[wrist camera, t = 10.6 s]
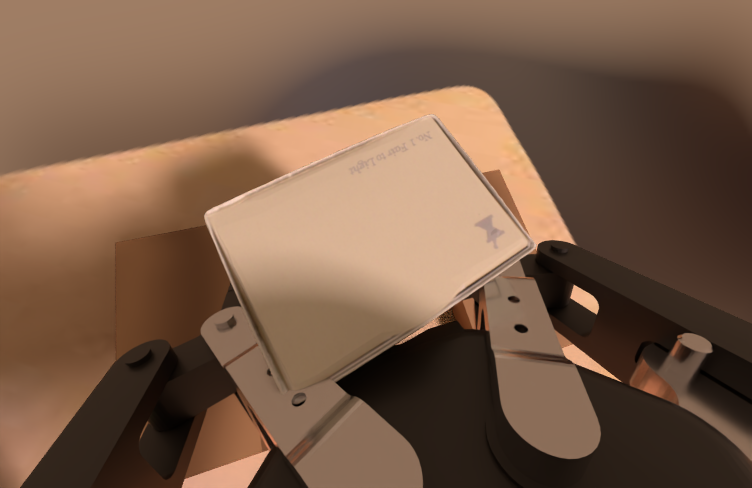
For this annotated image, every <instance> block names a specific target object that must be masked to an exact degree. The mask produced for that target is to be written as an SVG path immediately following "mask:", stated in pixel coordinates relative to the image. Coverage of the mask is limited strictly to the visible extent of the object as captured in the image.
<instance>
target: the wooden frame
mask: <svg viewBox="0 0 752 488" xmlns="http://www.w3.org/2000/svg"><path fill="white" fill-rule="evenodd" d="M482 174H483V175H484V177H485V178H486V179H487V180H488V182H489V183H490V184H491V186H492V187H493V188H494V189H495V191H496V192H497V194H498V195H499V196H500V197H501V198H502V200H503V201H504V203H505V204H506V206H507V207H508V208H509V209H510V211H511V212H512V213H513V215H514V216H515V217H516V219H517V220H518V221H519V223H520V224H521V226H522V227H523V229H524V230H525V231H526V232H527V233H528V231H527V229H526V227H525V225H524V223H523V221H522V218H521V216H520V214H519V212H518V210H517V207H516V205H515V203H514V201H513V199H512V196H511V194H510V192H509V190H508V188H507V186H506V183H505V181H504V179H503V177H502V175H501V172H500V170H495V171H490V172H484V173H482ZM528 235H529V234H528ZM536 253H537V251H536V249H534V250H533V251H532V252H531V253H529V254H536ZM229 286H230V279H229V277H228V275H227V272H226V270H225V268H224V265H223V263H222V261H221V258H220V256H219V254H218V251H217V248H216V246H215V243H214V241H213V239H212V237H211V235H210V232H209V230H208V228H207V225H206V226H201V227H196V228H190V229H185V230H180V231H175V232H169V233H164V234H159V235H154V236H148V237H143V238H138V239H133V240H127V241H122V242H117V243H116V361H117V360H118V359H119V358H120V357H121V356H122V355H124V354H125V353H126V352H128V351H129V350H131V349H133V348H134V347H136V346H138V345H140V344H143V343H145V342H148V341H152V340H157V339H162V340H166V341H168V342H169V344H170V345H171V347H172V348H174V347H177V346H179V345H181V344H183V343H185V342H187V341H190V340H192V339H194V338H196V337H198V336H200V335H201V327H202V325H203V324H204V322H205V321H206V320H207V319H208V318H210V317H211V316H212V315H214V314H215V313H217V312H219V311H221V309H222V306H223V303H224V300H225V297H226V294H227V292H228V288H229ZM473 307H474V299H473V298H470V299H466V300H463V301H460V302H458V303H457V304H455V305H454V306H453V307H451V308H452V311H453V314H454V317H455V320H456V321H458V322H459V324H460V325H461V326H462V327H463V329H475V325H474V308H473ZM555 333H556V335H557V338H558V340H559V343H560V346H561V348H563V347H566V346H569V345H572V343H571V342H570V341H569V340H567V339H566V338H565V337H563V336H562V335H561V334H560V333H558V332H557V331H556V330H555ZM147 424H148V421H147V423H146V425H145V427H144V429H143V431H142V433H141V436H142V434H143V432H144V430H145V428H146V426H147ZM141 436H140V438H141ZM267 450H268V448H267V446H266V445H265V443H264V441H263V439H262V438H261V436H260V434H259V433H258V431H257V429H256V428H255V426H254V425H253V423H252V422H251V420H250V418H249V417H248V415H247V414H246V412H245V411H244V409H243V407H242V406H241V404H240V403H239V401H238V400H237V398H236V397H235V395H234V394H232V395H230V396H228V397H227V398H225V399H223V400H221V401H220V402H218V403H216V404H214V405H213V406H211V407H209V408H208V409H207V412H206V415H205V418H204V421H203V424H202V427H201V430H200V433H199V436H198V439H197V442H196V445H195V448H194V451H193V454H192V457H191V461H190V464H189V467H188V470H187V473H186V476H185V479H186V478H189V477H192V476H195V475H198V474H200V473H203V472H206V471H209V470H212V469H215V468H218V467H221V466H223V465H226V464H229V463H232V462H235V461H238V460H241V459H244V458H246V457H249V456H252V455H255V454H258V453H261V452H264V451H267Z"/></svg>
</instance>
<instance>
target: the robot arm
mask: <svg viewBox="0 0 752 488" xmlns="http://www.w3.org/2000/svg"><path fill="white" fill-rule="evenodd" d="M574 285H576V286H577V287H579V288H581V289H583V290H584V291H586V292H588V293H590V294H591V295H593V296H594V297H595V298H596V300H597V301H598V304H599V310H598V313H597V315H596V314H595V313H593V312H591V311H590V310H588V309H587V308H585V307H583V306H582V305H580V304H579V303H577V302H575V301H574V300H572V299H571V298H570V296H571V293H572V289H573V286H574ZM470 298H473V299H474V307H473V308H474V325H475V329H463V327H462V326H461V325H460V324H459V322H458V321H454V322H450V323H447V324H444V325H440V326H437V327H433V328H430V329H428V330H426V331H424V332H422V333H421V334H419V335H417V336H415V337H414V338H412V339H410V340H408V341H407V342H405V343H403V344H400V345H394V346H392V347H391V348H389V349H387V350H386V351H384V352H383V353H381V354H380V355H378V356H376V357H375V358H373V359H372V360H370V361H368V362H367V363H365V364H364V365H362V366H361V367H359V368H358V369H356V370H355V371H353V372H351V373H350V374H348V375H347V376H345V377H343V378H342V379H340V380H339V381H337V382H334V381H333V380H332V379H331V378H330V377H329V378H326V379H324V380H321V381H319V382H317V383H314V384H312V385H309V386H307V387H305V388H302V389H299V390H288V391H287V392H286V393H285V394H283V395H282V394H281V393H280V391H279V388H278V386H277V384H276V382H275V380H274V378H273V376H272V373H271V371H270V369H269V367H268V365H267V363H266V361H265V358H264V356H263V354H262V352H261V350H260V348H259V346H258V343H257V341H256V339H255V337H254V335H253V332H252V330H251V328H250V325H249V323H248V321H247V318H246V316H245V314H244V311H243V309H242V307H241V305H240V302H239V300H238V298H237V295H236V293H235V291H234V289H233V287H232V284H231V282H230V286H229V288H228V292H227V294H226V297H225V300H224V303H223V306H222V309H221V311H219V312H217V313H215V314H214V315H212V316H211V317H210V318H208V319H207V320H206V321H205V322H204V324H203V325H202V327H201V335H200V336H198V337H196V338H194V339H192V340H190V341H187V342H185V343H183V344H181V345H179V346H177V347H174V348H172V347H171V345H170V344H169V342H168V341H166V340H162V339H157V340H152V341H148V342H145V343H143V344H140V345H138V346H136V347H134V348H133V349H131V350H129V351H128V352H126V353H125V354H124V355H122V356H121V357H120V358H119V359H118V360H117V361H116V362H115V363H114V364H113V365H112V367H111V368H110V369H109V371H108V372H107V373H106V375H105V376H104V377H103V379H102V380H101V381H100V383H99V384H98V385H97V386H96V388H95V389H94V390H93V392H92V393H91V394H90V396H89V397H88V398H87V400H86V401H85V402H84V404H83V405H82V406H81V408H80V409H79V410H78V412H77V413H76V414H75V416H74V417H73V418H72V420H71V421H70V422H69V424H68V425H67V426H66V428H65V429H64V430H63V432H62V433H61V434H60V436H59V437H58V438H57V439H56V441H55V442H54V443H53V445H52V446H51V447H50V449H49V450H48V451H47V453H46V454H45V455H44V457H43V458H42V459H41V461H40V462H39V463H38V465H37V466H36V467H35V469H34V470H33V471H32V473H31V474H30V475H29V477H28V478H27V479H26V481H25V482H24V483H23V485H22V486H21V487H20V488H182V485H183V482H184V479H185V476H186V473H187V470H188V467H189V464H190V461H191V457H192V454H193V451H194V448H195V445H196V442H197V439H198V436H199V433H200V430H201V427H202V424H203V421H204V418H205V415H206V412H207V409H208V408H209V407H211V406H213V405H214V404H216V403H218V402H220V401H221V400H223V399H225V398H227V397H228V396H230V395H232V394H234V395H235V397H236V398H237V400H238V401H239V403H240V404H241V406H242V407H243V409H244V411H245V412H246V414H247V415H248V417H249V418H250V420H251V422H252V423H253V425H254V426H255V428H256V429H257V431H258V433H259V434H260V436H261V438H262V439H263V441H264V443H265V445H266V446H267V448H268V450H269V451H270V452H269V453H268V455H267V457H266V458H265V460H264V462H263V463H262V465H261V466H260V468H259V470H258V471H257V473H256V475H255V476H254V478H253V480H252V481H251V483H250V484H249V486H248V488H752V324H751V323H749V322H747V321H744V320H742V319H740V318H738V317H735V316H733V315H731V314H729V313H726V312H724V311H722V310H719V309H717V308H715V307H713V306H711V305H708V304H706V303H704V302H702V301H699V300H697V299H695V298H693V297H690V296H688V295H686V294H684V293H681V292H679V291H677V290H675V289H672V288H670V287H668V286H666V285H663V284H661V283H659V282H657V281H654V280H652V279H650V278H648V277H645V276H643V275H641V274H639V273H636V272H634V271H632V270H629V269H627V268H625V267H623V266H621V265H618V264H616V263H614V262H612V261H609V260H607V259H605V258H603V257H600V256H598V255H596V254H594V253H591V252H589V251H587V250H585V249H582V248H580V247H578V246H576V245H573V244H571V243H568V242H564V241H555V240H550V241H544V242H541V243H539V244H538V247H537V253H536V254H528V255H526V256H524V257H523V258H521V259H520V260H518V261H517V262H516V263H514V264H513V265H512V266H510V267H509V268H508V269H506V270H505V271H503V272H502V273H500V274H499V275H498V276H496V277H495V278H493V279H492V280H490V281H489V282H488V283H486V284H485V285H483V286H482V287H480V288H479V289H478V290H476V291H475V292H473V293H472V294H471V295H469V296H468V297H466V298H465V299H463V300H466V299H470ZM463 300H461V301H463ZM555 330H556V331H557V332H558V333H560V334H561V335H562V336H563V337H565V338H566V339H567V340H569V341H570V342H571V343H572V344H574V345H575V346H576V347H578V348H579V349H580V350H581V351H583V352H584V353H585V354H587V355H588V356H589V357H590V358H592V359H593V360H594V361H596V362H597V363H598V364H600V365H601V366H602V367H603V368H605V369H606V370H607V371H609V372H610V373H611V374H612V375H614V376H615V377H616V378H618V379H619V380H620V381H621V382H620V381H617V380H615V379H612V378H610V377H607V376H604V375H602V374H599V373H597V372H594V371H592V370H589V369H587V368H584V367H582V366H579V365H576V364H574V363H573V362H572V361H570V360H568V359H567V358H566V357H565V356H564V353H563V351H562V348H561V346H560V343H559V340H558V338H557V335H556V333H555ZM622 382H623V383H622ZM299 396H305V397H306V401H304V402H302V403H300V404H298V405H297V404H294V401H295V399H296V398H297V397H299ZM147 421H148V424H147V426H146V428H145V430H144V432H143V434H142V436H141V433H142V431H143V429H144V427H145V425H146V423H147ZM140 436H141V438H140Z"/></svg>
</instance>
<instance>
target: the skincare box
mask: <svg viewBox="0 0 752 488" xmlns="http://www.w3.org/2000/svg"><path fill="white" fill-rule="evenodd" d="M204 220H205V223H206V225H207V228H208V230H209V232H210V235H211V237H212V239H213V241H214V243H215V246H216V248H217V251H218V254H219V256H220V258H221V261H222V263H223V265H224V268H225V270H226V272H227V275H228V277H229V279H230V282H231V284H232V287H233V289H234V291H235V293H236V295H237V298H238V300H239V302H240V305H241V307H242V309H243V311H244V314H245V316H246V318H247V321H248V323H249V325H250V328H251V330H252V332H253V335H254V337H255V339H256V341H257V343H258V346H259V348H260V350H261V352H262V354H263V356H264V358H265V361H266V363H267V365H268V367H269V369H270V371H271V373H272V376H273V378H274V380H275V382H276V384H277V386H278V388H279V391H280V393H281V394H282V395H283V394H285V393H286V392H287V391H288V390H299V389H302V388H305V387H307V386H309V385H312V384H314V383H317V382H319V381H321V380H324V379H326V378H329V377H330V378H331V379H332V380H333V381H334V382H337V381H339V380H340V379H342V378H343V377H345V376H347V375H348V374H350V373H351V372H353V371H355V370H356V369H358V368H359V367H361V366H362V365H364V364H365V363H367V362H368V361H370V360H372V359H373V358H375V357H376V356H378V355H380V354H381V353H383V352H384V351H386V350H387V349H389V348H391V347H392V346H394V345H395V344H397V343H399V342H400V341H402V340H403V339H405V338H406V337H408V336H409V335H411V334H413V333H414V332H416V331H417V330H419V329H420V328H422V327H424V326H425V325H427V324H428V323H430V322H431V321H432V320H434V319H435V318H437V317H438V316H440V315H441V314H443V313H444V312H445V311H447V310H448V309H450V308H451V307H453V306H454V305H455V304H457V303H458V302H460V301H461V300H463V299H465V298H466V297H468V296H469V295H471V294H472V293H473V292H475V291H476V290H478V289H479V288H480V287H482V286H483V285H485V284H486V283H488V282H489V281H490V280H492V279H493V278H495V277H496V276H498V275H499V274H500V273H502V272H503V271H505V270H506V269H508V268H509V267H510V266H512V265H513V264H514V263H516V262H517V261H518V260H520V259H521V258H523V257H524V256H526V255H528V254H529V253H531V252H532V251H533V250H534V249H535V248H536V243H535V242H534V241H533V240H532V238H531V237H530V236H529V235H528V233H527V232H526V231H525V230H524V229H523V227H522V226H521V224H520V223H519V221H518V220H517V219H516V217H515V216H514V215H513V213H512V212H511V211H510V209H509V208H508V207H507V206H506V204H505V203H504V201H503V200H502V198H501V197H500V196H499V195H498V194H497V192H496V191H495V189H494V188H493V187H492V186H491V184H490V183H489V182H488V180H487V179H486V178H485V177H484V175H483V174H482V173H481V171H480V170H479V169H478V167H477V166H476V165H475V164H474V162H473V161H472V159H471V158H470V157H469V155H468V154H467V153H466V152H465V150H464V149H463V148H462V147H461V146H460V144H459V143H458V142H457V141H456V139H455V138H454V137H453V136H452V134H451V133H450V132H449V131H448V129H447V128H446V127H445V126H444V124H443V123H442V122H441V120H440V119H439V118H438V117H437V116H436V115H434V114H429V115H426V116H423V117H421V118H418V119H416V120H413V121H410V122H408V123H405V124H402V125H400V126H397V127H394V128H392V129H390V130H387V131H385V132H383V133H380V134H378V135H375V136H373V137H370V138H368V139H366V140H364V141H361V142H359V143H356V144H354V145H352V146H349V147H347V148H345V149H342V150H340V151H337V152H335V153H333V154H331V155H329V156H327V157H325V158H323V159H320V160H317V161H315V162H312V163H310V164H309V165H306V166H303V167H302V168H299V169H297V170H295V171H293V172H290V173H288V174H286V175H283V176H281V177H279V178H276V179H274V180H272V181H270V182H268V183H266V184H264V185H262V186H259V187H257V188H255V189H252V190H250V191H248V192H246V193H244V194H241V195H239V196H236V197H234V198H232V199H230V200H229V201H226V202H224V203H222V204H220V205H218V206H216V207H213V208H211V209H209V210H208V211H206V213H205V214H204ZM304 401H306V397H305V396H299V397H297V398H296V399H295V401H294V404H297V405H298V404H300V403H302V402H304Z"/></svg>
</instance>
